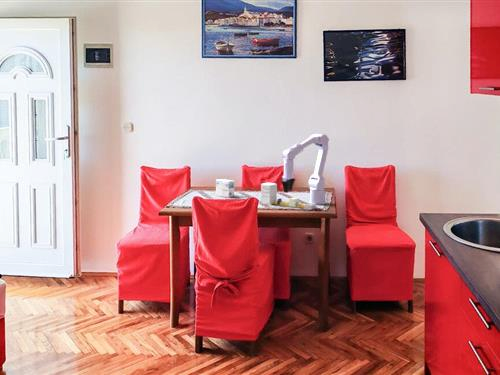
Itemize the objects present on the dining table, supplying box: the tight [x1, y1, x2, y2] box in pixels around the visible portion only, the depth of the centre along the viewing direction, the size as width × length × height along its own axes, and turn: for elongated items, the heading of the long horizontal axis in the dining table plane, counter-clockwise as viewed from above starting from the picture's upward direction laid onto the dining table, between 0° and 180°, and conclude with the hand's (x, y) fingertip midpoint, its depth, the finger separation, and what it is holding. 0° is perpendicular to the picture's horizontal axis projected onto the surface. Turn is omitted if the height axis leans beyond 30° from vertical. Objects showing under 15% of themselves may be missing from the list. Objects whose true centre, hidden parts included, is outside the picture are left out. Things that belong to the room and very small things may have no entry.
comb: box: [304, 203, 317, 210], centre depth 384 cm, size 4×7×3 cm, turn 152°
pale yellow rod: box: [273, 197, 307, 209], centre depth 390 cm, size 24×4×4 cm, turn 62°
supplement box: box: [260, 182, 278, 206], centre depth 397 cm, size 7×7×13 cm
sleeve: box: [288, 197, 300, 208], centre depth 389 cm, size 4×5×5 cm
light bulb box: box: [215, 178, 235, 198], centre depth 419 cm, size 11×7×11 cm, turn 58°
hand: (288, 191), depth 386 cm, fingers open, 7 cm apart
